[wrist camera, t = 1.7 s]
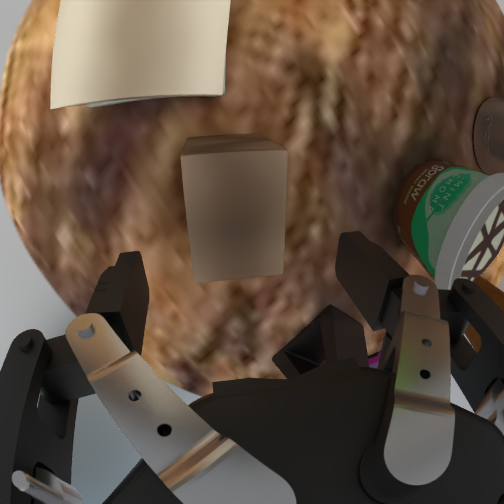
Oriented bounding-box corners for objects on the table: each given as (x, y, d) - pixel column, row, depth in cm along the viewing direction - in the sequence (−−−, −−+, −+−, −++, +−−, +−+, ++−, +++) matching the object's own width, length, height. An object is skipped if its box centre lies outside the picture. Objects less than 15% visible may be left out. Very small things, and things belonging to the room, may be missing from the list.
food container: (428, 119, 20) (518, 147, 11) (460, 158, 22) (536, 196, 14) (357, 229, 24) (424, 299, 16) (396, 256, 27) (457, 319, 18)
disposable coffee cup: (442, 327, 35) (485, 384, 25) (432, 293, 31) (489, 359, 21) (484, 287, 34) (531, 336, 23) (481, 247, 29) (542, 300, 19)
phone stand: (330, 303, 28) (383, 401, 18) (361, 323, 31) (411, 407, 20) (271, 357, 31) (298, 454, 21) (306, 371, 33) (337, 455, 23)
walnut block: (260, 133, 19) (287, 150, 13) (260, 224, 23) (282, 274, 17) (187, 137, 19) (180, 156, 13) (195, 229, 22) (194, 282, 16)
